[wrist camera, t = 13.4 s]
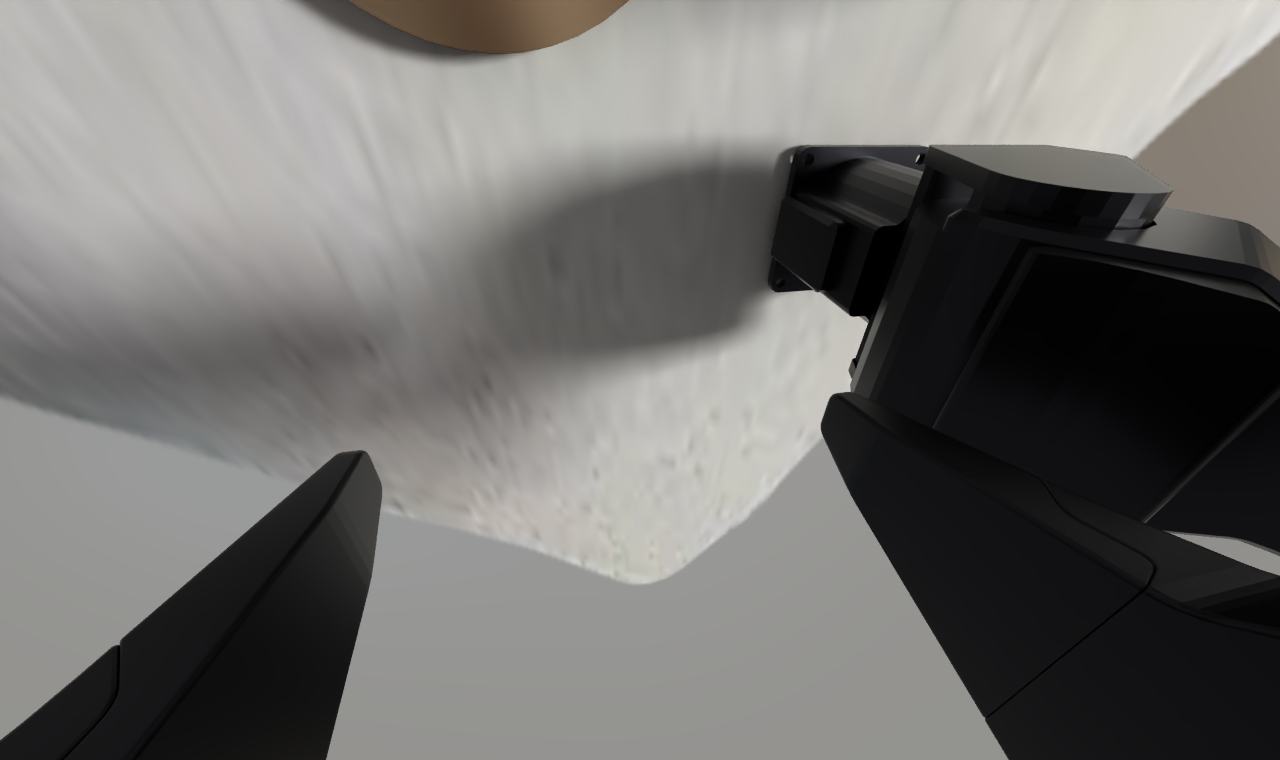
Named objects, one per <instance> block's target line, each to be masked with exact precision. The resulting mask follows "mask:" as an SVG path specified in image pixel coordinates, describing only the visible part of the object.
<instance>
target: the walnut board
mask: <svg viewBox="0 0 1280 760" xmlns="http://www.w3.org/2000/svg"><path fill="white" fill-rule="evenodd" d="M349 1H350V2H352V3H353V4H355V5H356V6H358V7H359V8H361V9H362V10H364V11H366V12H368V13H370V14H371V15H373V16H375V17H377V18H379V19H381V20H382V21H384V22H386V23H388V24H390V25H391V26H393V27H395V28H398V29H400V30H402V31H405V32H407V33H410V34H412V35H415V36H417V37H420V38H422V39H425V40H427V41H430V42H434V43H437V44H441V45H445V46H449V47H453V48H456V49H460V50H467V51H476V52H485V53H514V52H526V51H531V50H536V49H541V48H545V47H550V46H553V45H556V44H559V43H561V42H564V41H566V40H569V39H572V38H574V37H577V36H579V35H581V34H582V33H584V32H586V31H588V30H589V29H591V28H593V27H594V26H596V25H598V24H600V23H601V22H603V21H604V20H606V19H607V18H608V17H609V16H611V15H612V14H613V13H614V12H616V11H617V10H618V9H619V8H620V7H622V6H623V5H624V4H625V3H627V2H628V1H629V0H349Z"/></svg>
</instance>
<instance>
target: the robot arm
mask: <svg viewBox="0 0 1280 760" xmlns="http://www.w3.org/2000/svg"><path fill="white" fill-rule="evenodd" d="M807 154H809V160H808V162H807V163H806V164H803V159H804V157H805V156H806V155H807ZM919 154H920V158H919V159H918V161H917V162H916V163H915V161H916V158H917V156H918V155H919ZM1173 190H1174V189H1173V188H1172V186H1170V185H1169V184H1167V183H1166V182H1164V181H1163V180H1161V179H1160V178H1158V177H1157V176H1155V175H1154V174H1152V173H1151V172H1149V171H1148V170H1146V169H1145V168H1143V167H1142V166H1140V165H1139V164H1137V163H1136V162H1134V161H1133V160H1131V159H1130V158H1129V157H1127V156H1123V155H1117V154H1110V153H1103V152H1095V151H1088V150H1080V149H1073V148H1065V147H1058V146H1050V145H929V148H928V147H925V146H920V145H805V146H802V147H800V148H799V149H798V150H797V151H796V153H795V155H794V157H793V162H792V166H791V171H790V176H789V181H788V186H787V191H786V196H785V198H784V199H783V201H782V202H781V207H780V212H779V217H778V221H777V226H776V231H775V236H774V241H773V246H772V251H771V255H772V256H773V259H772V263H771V268H770V273H769V278H768V285H769V287H770V288H771V289H772V290H774V291H775V292H791V291H805V290H814V291H815V292H821V293H822V294H823V295H824V296H826V297H827V298H828V299H830V300H831V301H832V302H833V303H835V304H836V305H837V306H838V307H840V308H841V309H842V310H843V311H845V312H846V313H847V314H849V315H850V316H853V317H856V316H859V317H861V318H862V319H863V320H865V321H866V322H867V323H868V325H867V328H866V331H865V333H864V336H863V339H862V342H861V344H860V347H859V350H858V353H857V355H856V358H853V359H852V362H851V364H850V367H849V373H850V375H851V378H852V381H851V384H850V386H851V392H844V393H836V394H833V395H832V396H831V397H830V399H829V401H828V404H827V407H826V410H825V413H824V416H823V419H822V422H821V432H822V435H823V437H824V439H825V442H826V444H827V446H828V448H829V450H830V452H831V454H832V457H833V459H834V461H835V463H836V465H837V467H838V469H839V472H840V474H841V476H842V478H843V480H844V482H845V484H846V486H847V488H848V490H849V492H850V494H851V496H852V498H853V500H854V502H855V503H856V505H857V507H858V508H859V510H860V512H861V513H862V515H863V517H864V518H865V520H866V522H867V523H868V525H869V527H870V528H871V530H872V532H873V533H874V535H875V537H876V538H877V540H878V542H879V543H880V545H881V547H882V548H883V550H884V552H885V553H886V555H887V557H888V558H889V560H890V562H891V564H892V565H893V567H894V568H895V570H896V572H897V574H898V575H899V577H900V579H901V580H902V582H903V584H904V585H905V587H906V589H907V590H908V592H909V593H910V595H911V597H912V598H913V600H914V602H915V604H916V605H917V607H918V608H919V610H920V612H921V614H922V615H923V617H924V619H925V620H926V622H927V623H928V625H929V627H930V628H931V630H932V632H933V634H934V635H935V637H936V639H937V640H938V642H939V644H940V645H941V647H942V648H943V650H944V652H945V654H946V655H947V657H948V659H949V660H950V662H951V664H952V665H953V667H954V669H955V670H956V672H957V674H958V675H959V677H960V679H961V680H962V682H963V684H964V685H965V687H966V689H967V690H968V692H969V694H970V695H971V697H972V699H973V700H974V702H975V704H976V705H977V707H978V709H979V710H980V712H981V714H982V715H983V717H985V721H986V723H987V724H988V726H989V728H990V729H991V731H992V733H993V734H994V736H995V738H996V739H997V741H998V743H999V744H1000V746H1001V747H1002V749H1003V751H1004V753H1005V754H1006V756H1007V758H1008V759H1009V760H1280V576H1279V575H1276V574H1272V573H1269V572H1266V571H1263V570H1259V569H1257V568H1254V567H1252V566H1249V565H1246V564H1244V563H1241V562H1238V561H1236V560H1234V559H1231V558H1229V557H1226V556H1224V555H1221V554H1219V553H1217V552H1214V551H1211V550H1209V549H1207V548H1204V547H1202V546H1199V545H1197V544H1194V543H1192V542H1189V541H1187V540H1185V539H1182V538H1180V537H1177V536H1175V535H1172V534H1170V533H1176V534H1185V535H1196V536H1206V537H1207V536H1208V537H1216V538H1227V539H1233V540H1239V541H1242V542H1244V543H1247V544H1250V545H1252V546H1255V547H1258V548H1261V549H1263V550H1266V551H1268V552H1271V553H1273V554H1276V555H1278V556H1280V247H1279V246H1277V245H1276V244H1275V243H1274V242H1273V241H1271V240H1270V239H1269V238H1268V237H1267V236H1266V235H1264V234H1263V233H1262V232H1261V231H1260V230H1258V229H1256V228H1255V227H1254V226H1252V225H1250V224H1248V223H1244V222H1241V221H1238V220H1232V219H1226V218H1221V217H1216V216H1210V215H1205V214H1199V213H1193V212H1189V211H1183V210H1177V209H1172V208H1167V207H1163V205H1164V204H1165V202H1166V201H1167V199H1168V198H1169V196H1170V195H1171V193H1172V192H1173ZM780 278H782V281H781V282H780V283H779V284H776V282H777V280H779V279H780ZM381 500H382V485H381V481H380V479H379V477H378V474H377V472H376V470H375V468H374V465H373V463H372V461H371V458H370V456H369V455H368V453H367V452H366V451H363V450H358V451H350V452H342V453H339V454H337V455H335V456H334V457H333V458H332V459H330V460H329V461H328V462H327V463H326V464H325V465H323V466H322V467H321V468H320V469H319V470H318V471H316V472H315V473H314V474H313V475H312V476H311V477H310V478H308V479H307V480H306V481H305V482H304V483H303V484H301V485H300V486H299V487H298V488H297V489H296V490H294V491H293V492H292V493H291V494H290V495H289V496H287V497H286V498H285V499H284V500H283V501H282V502H281V503H279V504H278V505H277V506H276V507H275V508H273V509H272V510H271V511H270V512H269V513H268V514H266V515H265V516H264V517H263V518H262V519H261V520H259V521H258V522H257V523H256V524H255V525H254V526H253V527H251V528H250V529H249V530H248V531H247V532H246V533H244V534H243V535H242V536H241V537H240V538H239V539H237V540H236V541H235V542H234V543H233V544H232V545H230V546H229V547H228V548H227V549H226V550H225V551H223V553H221V554H220V555H219V556H218V557H216V558H215V559H214V560H213V561H212V562H211V563H209V564H208V565H207V566H206V567H205V568H204V569H202V570H201V571H200V572H199V573H198V574H197V575H196V576H194V577H193V578H192V579H191V580H190V581H189V582H187V583H186V584H185V585H184V586H183V587H182V588H180V589H179V590H178V591H177V592H176V593H175V594H173V595H172V596H171V597H170V598H169V599H168V600H167V601H165V602H164V603H163V604H162V605H161V606H159V607H158V608H157V609H156V610H155V611H154V612H153V613H152V614H150V615H149V616H148V617H147V618H145V619H144V620H143V621H142V622H141V623H140V624H138V625H137V626H136V627H135V628H134V629H133V630H132V631H130V632H129V633H128V634H127V635H126V636H125V637H123V638H122V639H121V641H120V645H115V646H113V647H111V648H110V649H109V650H108V651H107V652H106V653H105V654H103V655H102V656H101V657H100V658H99V659H98V660H96V661H95V662H94V663H93V664H92V665H91V666H89V667H88V668H87V669H86V670H85V671H84V672H82V673H81V674H80V675H79V676H78V677H77V678H75V679H74V680H73V681H72V682H71V683H69V684H68V685H67V686H66V687H65V688H63V689H62V690H61V691H60V692H59V693H57V694H56V695H55V696H54V697H53V698H51V699H50V700H49V701H48V702H47V703H45V704H44V705H43V706H42V707H41V708H39V709H38V710H37V711H36V712H35V713H33V714H32V715H31V716H30V717H29V718H27V719H26V720H25V721H24V722H23V723H21V724H20V725H19V726H18V727H16V728H15V729H14V730H13V731H11V732H10V733H9V734H8V735H6V736H5V737H4V738H3V739H1V740H0V760H326V758H327V753H328V750H329V746H330V741H331V738H332V734H333V730H334V726H335V722H336V717H337V714H338V710H339V706H340V702H341V698H342V694H343V690H344V686H345V682H346V678H347V674H348V670H349V666H350V662H351V658H352V654H353V650H354V646H355V642H356V638H357V634H358V630H359V626H360V622H361V618H362V614H363V610H364V606H365V602H366V598H367V594H368V590H369V586H370V581H371V577H372V571H373V564H374V556H375V548H376V541H377V532H378V524H379V516H380V508H381Z"/></svg>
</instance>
